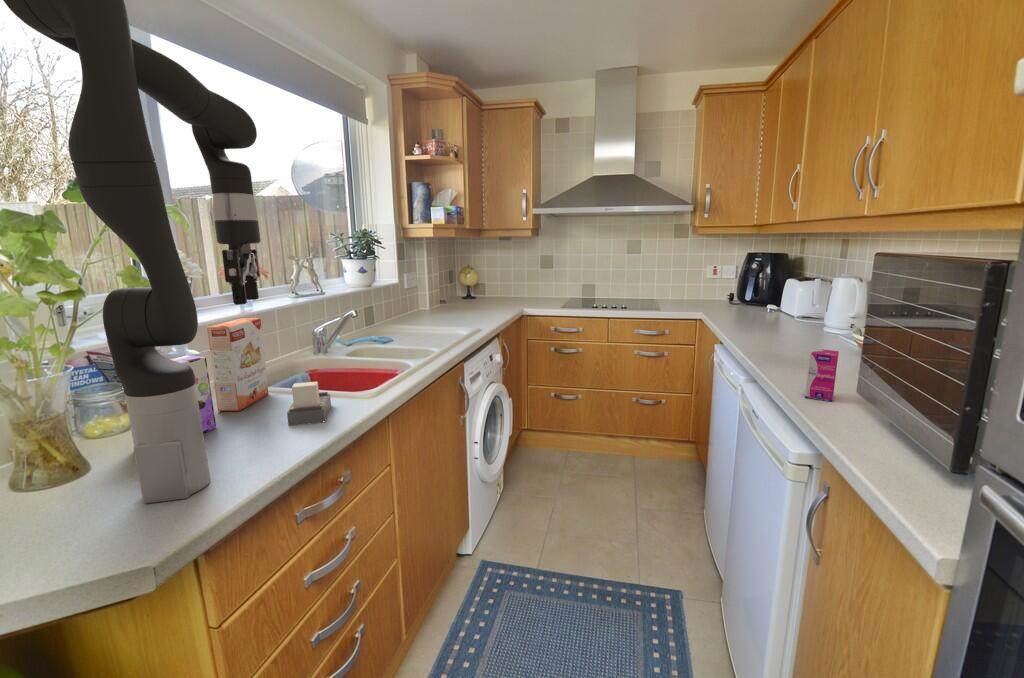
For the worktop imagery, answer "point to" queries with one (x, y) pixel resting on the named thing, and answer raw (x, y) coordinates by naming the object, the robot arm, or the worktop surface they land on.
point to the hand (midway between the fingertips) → (247, 301)
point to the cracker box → (238, 363)
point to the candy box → (201, 389)
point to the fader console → (310, 412)
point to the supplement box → (821, 374)
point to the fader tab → (305, 394)
